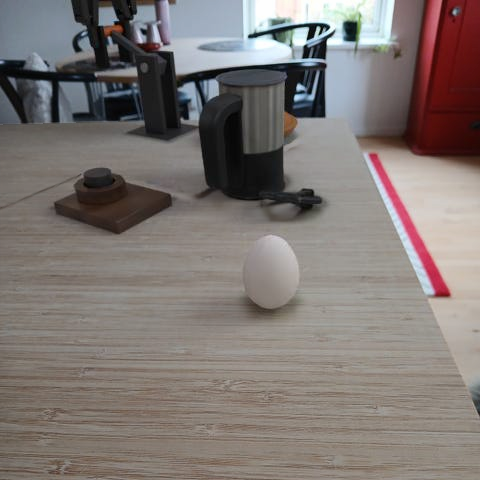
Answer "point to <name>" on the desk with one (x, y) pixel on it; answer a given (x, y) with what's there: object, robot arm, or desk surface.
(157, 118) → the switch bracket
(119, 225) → the brown button base
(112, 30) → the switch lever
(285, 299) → the egg
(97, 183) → the stop button
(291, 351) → the desk surface
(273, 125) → the milk frother
